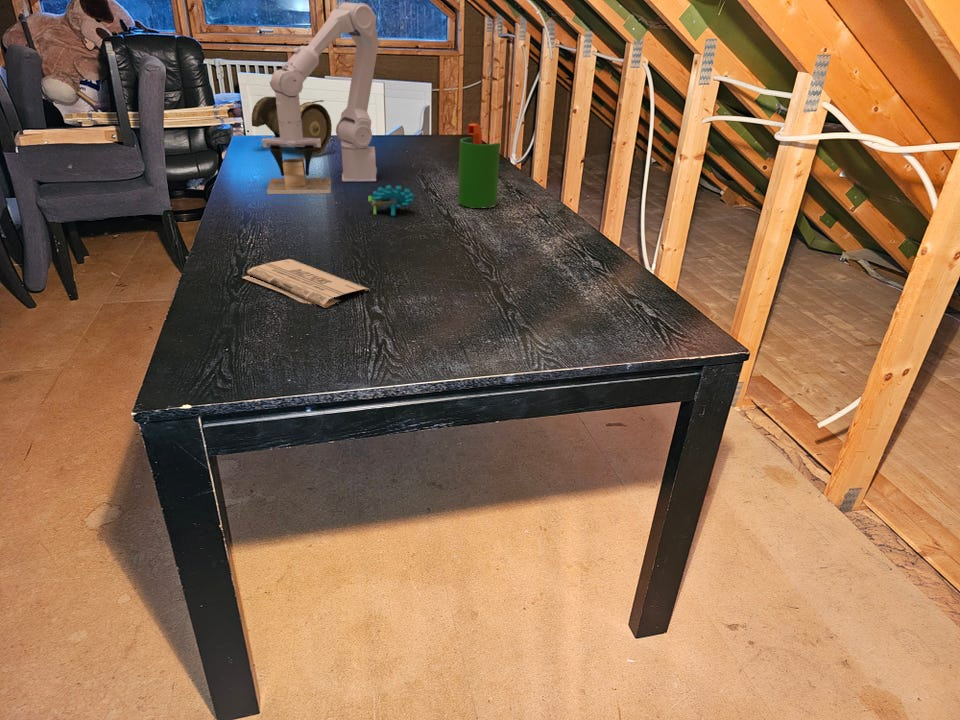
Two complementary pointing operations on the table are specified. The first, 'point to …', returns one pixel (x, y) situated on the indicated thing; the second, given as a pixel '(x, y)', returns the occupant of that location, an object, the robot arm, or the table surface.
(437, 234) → the table surface
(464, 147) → the green cylindrical container
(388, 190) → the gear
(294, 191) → the base plate
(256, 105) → the bench grinder
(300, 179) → the hollow square block
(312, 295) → the newspaper
